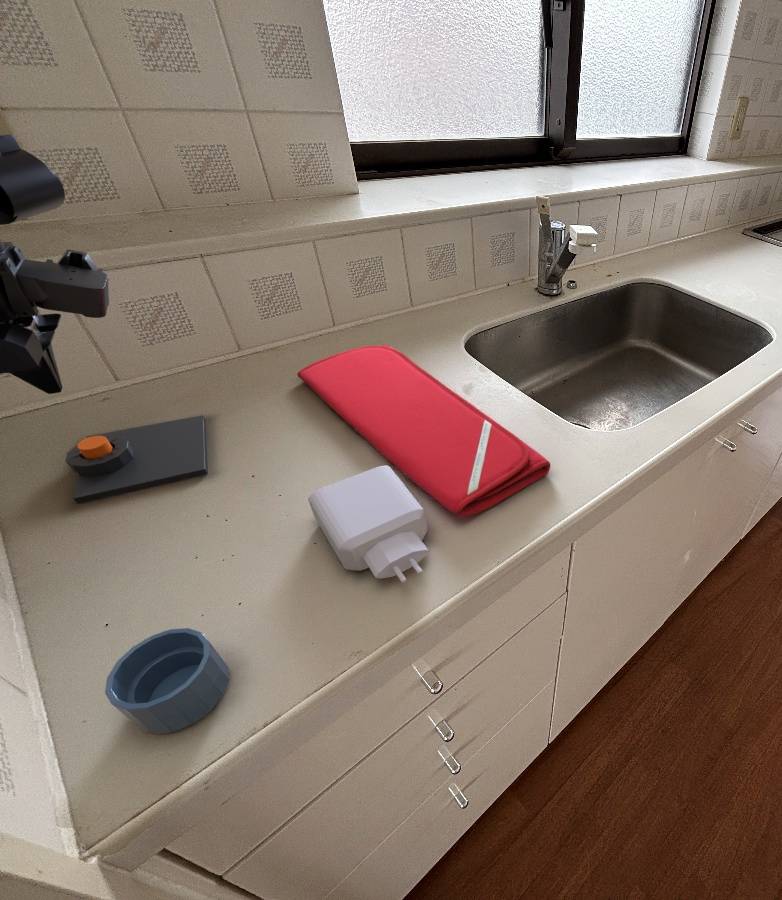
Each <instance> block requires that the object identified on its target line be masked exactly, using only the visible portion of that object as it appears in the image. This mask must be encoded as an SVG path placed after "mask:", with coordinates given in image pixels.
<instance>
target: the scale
mask: <svg viewBox="0 0 782 900" xmlns="http://www.w3.org/2000/svg"><path fill="white" fill-rule="evenodd" d="M92 436H104V437H106V438H107V440H108V441H109V443H110V444H111V446H112V447H113V451H112V452H111V453H109V454H107V455H105V456H103V457H101V458H96V459H86V458H85V457H84V456H83V454H82V453H81V452H80V450H79V449H78V447H77V445H78V444H76V445H75V446H74V447H72V448H71V449H69V451H67V453H66V456H65V458H64V459H65V462H66V464H67V465H68V466H69V468H70V469H71V470H72V471H73V472H74V473H75V474H77V478H76V483H75V487H74V491H73V496H72V500H73V501H74V503H76V505H78V504H84V503H89V502H92V501H96V500H101V499H105V498H109V497H114V496H118V495H122V494H127V493H132V492H136V491H140V490H145V489H149V488H153V487H158V486H162V485H166V484H171V483H176V482H180V481H185V480H189V479H194V478H197V477H201V476H206V475H208V474H209V471H208V446H207V445H208V443H207V420H206V417H205V415H204V414H201V415H197V416H192V417H186V418H185V417H184V418H181V419H180V418H179V419H175V420H168V421H164V422H159V423H152V424H147V425H142V426H135V427H130V428H126V429H125V428H124V429H120V430H115V431H108V432H103V433H98V434H97V433H96V434H92V435H87V436H86V438H89V437H92Z"/></svg>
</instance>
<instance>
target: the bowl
mask: <svg viewBox="0 0 782 900" xmlns="http://www.w3.org/2000/svg"><path fill="white" fill-rule="evenodd" d="M229 683H230V668H229V666H228V665H227V663H226V662H225V661H224V659H223V658H222V656H221V655H220V654H219V653H218V651H217V650H216V649H215V647H214V646H213V644H212V643H211V642H210V641H209V639H208V638H207V637H206V636H205V634H204V633H203V632H201V631H199V630H195V629H192V628H190V627H185V628H171V629H167V630H164V631H161V632H159V633H156V634H153V635H150V636H149V637H147V638H145V639H144V640H141V641H140V642H138V643H137V644H135V645H133V646H132V647H131V648H130V649H129V650H128V651H126V652H125V653H124V654H123V655H122V656H121V657H120V658H119V659H118V660H117V661H115V664H114V665H113V667H112V669H111V670H110V672H109V674H108V675H107V677H106V682H105V690H104V694H105V696H106V697H107V699H108V701H109V703H110V704H111V705H112V706H113V707H114V708H116V710H118V711H119V712H120V713H121V714H122V715H124V716H125V717H126V718H127V719H128V720H130V721H131V722H132V724H134V725H135V726H136V727H137V728H139V729H140V730H142V731H145V732H148V733H151V734H155V735H157V734H168V733H173V732H176V731H179V730H181V729H184V728H186V727H190V726H191V725H193V724H195V723H196V722H198V721H199V720H201V719H202V718H203V717H205V716H206V715H207V714H209V713H210V712H211V711H212V710H213V709H214V708H215V707H216V705H217V704H218V703H219V702H220V701H221V699H222V698H223V697H224V695H225V693H226V690H227V688H228V686H229Z"/></svg>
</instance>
